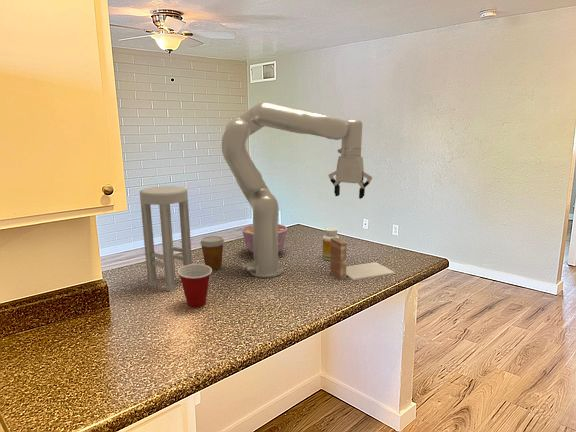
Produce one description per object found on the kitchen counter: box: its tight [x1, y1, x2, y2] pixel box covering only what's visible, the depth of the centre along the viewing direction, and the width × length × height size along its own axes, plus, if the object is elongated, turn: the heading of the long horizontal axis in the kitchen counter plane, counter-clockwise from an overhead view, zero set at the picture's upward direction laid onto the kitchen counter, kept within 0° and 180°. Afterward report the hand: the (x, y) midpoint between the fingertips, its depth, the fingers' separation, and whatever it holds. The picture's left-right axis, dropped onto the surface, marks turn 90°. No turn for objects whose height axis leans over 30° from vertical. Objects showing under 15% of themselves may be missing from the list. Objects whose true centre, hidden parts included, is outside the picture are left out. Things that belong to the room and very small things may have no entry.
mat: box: [346, 261, 396, 281], centre depth 165 cm, size 18×13×1 cm
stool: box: [139, 185, 193, 292], centre depth 152 cm, size 16×16×35 cm
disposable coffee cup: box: [199, 235, 225, 271], centre depth 171 cm, size 10×10×12 cm
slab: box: [329, 238, 348, 281], centre depth 160 cm, size 2×8×14 cm, turn 21°
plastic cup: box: [177, 263, 213, 308], centre depth 137 cm, size 11×11×12 cm
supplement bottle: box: [321, 227, 340, 261], centre depth 181 cm, size 7×7×13 cm
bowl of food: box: [241, 223, 288, 254], centre depth 188 cm, size 20×20×12 cm
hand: (349, 196), depth 165 cm, fingers open, 9 cm apart
